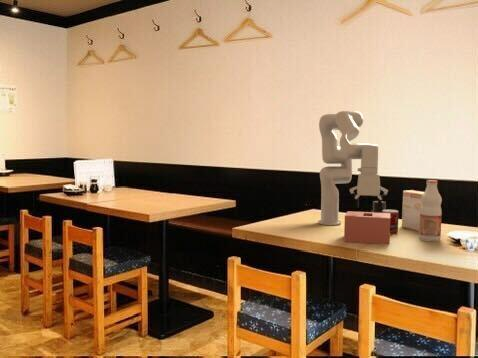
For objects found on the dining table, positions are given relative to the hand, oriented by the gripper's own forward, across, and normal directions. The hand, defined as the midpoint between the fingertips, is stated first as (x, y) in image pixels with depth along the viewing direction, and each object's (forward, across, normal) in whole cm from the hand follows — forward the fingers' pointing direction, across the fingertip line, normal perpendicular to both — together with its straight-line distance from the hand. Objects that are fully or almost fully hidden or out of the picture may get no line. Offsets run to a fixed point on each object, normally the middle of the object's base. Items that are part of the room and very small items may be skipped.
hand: (368, 207), depth 225 cm
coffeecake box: (+16, +23, +36) cm, 45 cm away
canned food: (+15, +10, +22) cm, 29 cm away
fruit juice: (+15, +28, +10) cm, 34 cm away
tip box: (+15, 0, 0) cm, 15 cm away
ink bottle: (+15, +4, +46) cm, 49 cm away
